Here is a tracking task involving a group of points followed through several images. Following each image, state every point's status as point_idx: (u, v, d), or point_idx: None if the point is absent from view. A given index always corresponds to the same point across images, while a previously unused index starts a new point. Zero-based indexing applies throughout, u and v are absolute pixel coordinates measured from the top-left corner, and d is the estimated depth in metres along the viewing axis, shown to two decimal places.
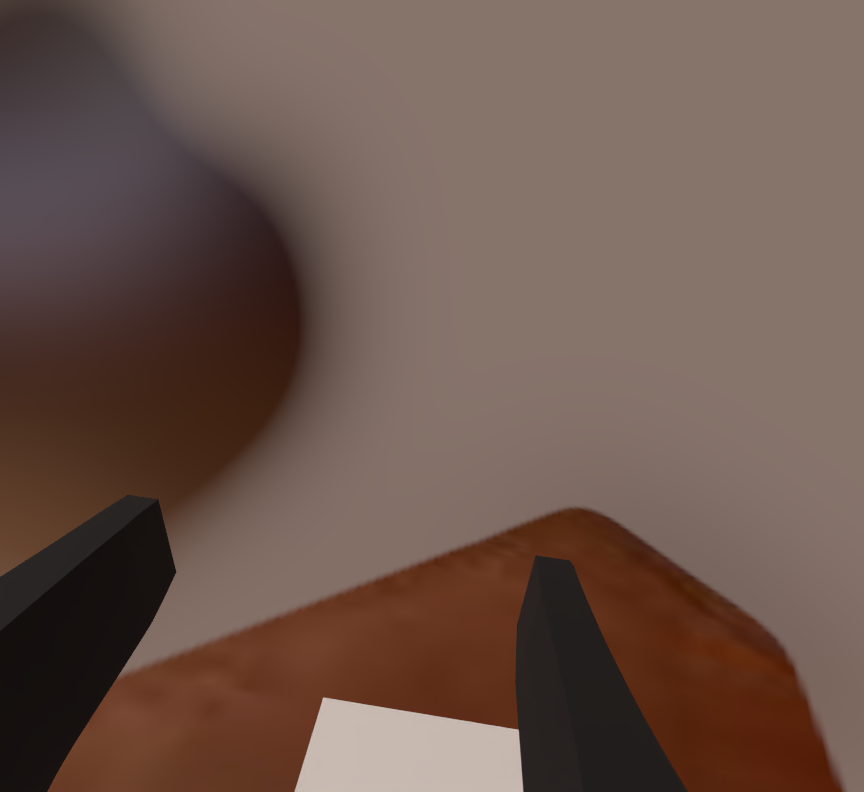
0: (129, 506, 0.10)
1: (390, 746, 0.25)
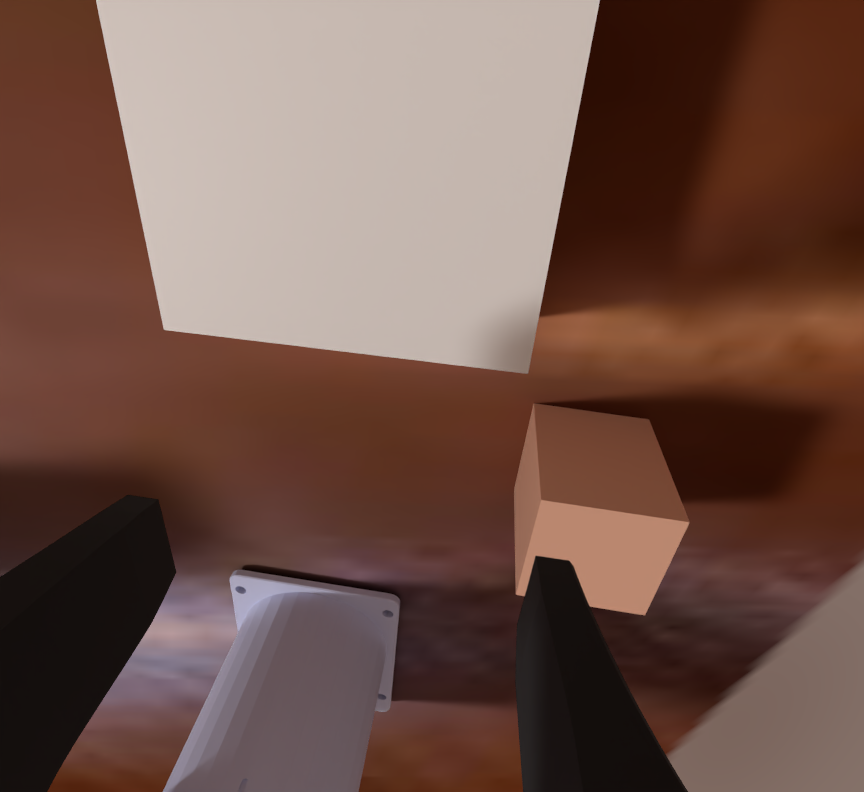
0: (130, 507, 0.10)
1: None
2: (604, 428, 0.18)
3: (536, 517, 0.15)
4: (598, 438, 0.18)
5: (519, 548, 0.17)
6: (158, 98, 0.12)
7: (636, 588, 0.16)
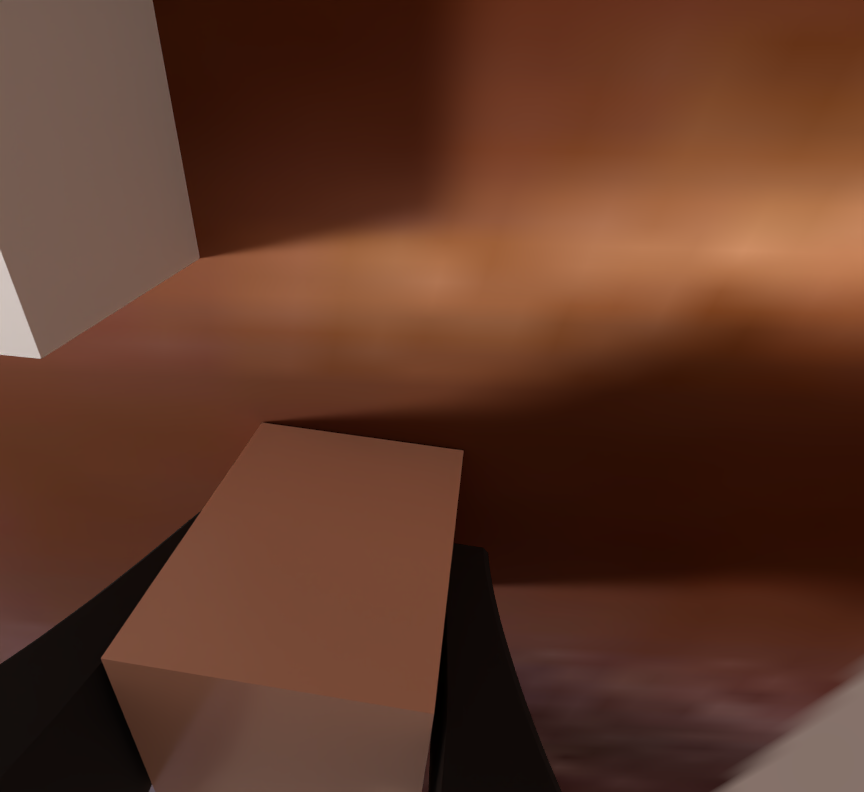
0: None
1: None
2: (366, 471, 0.10)
3: (117, 687, 0.07)
4: (341, 493, 0.09)
5: None
6: None
7: None
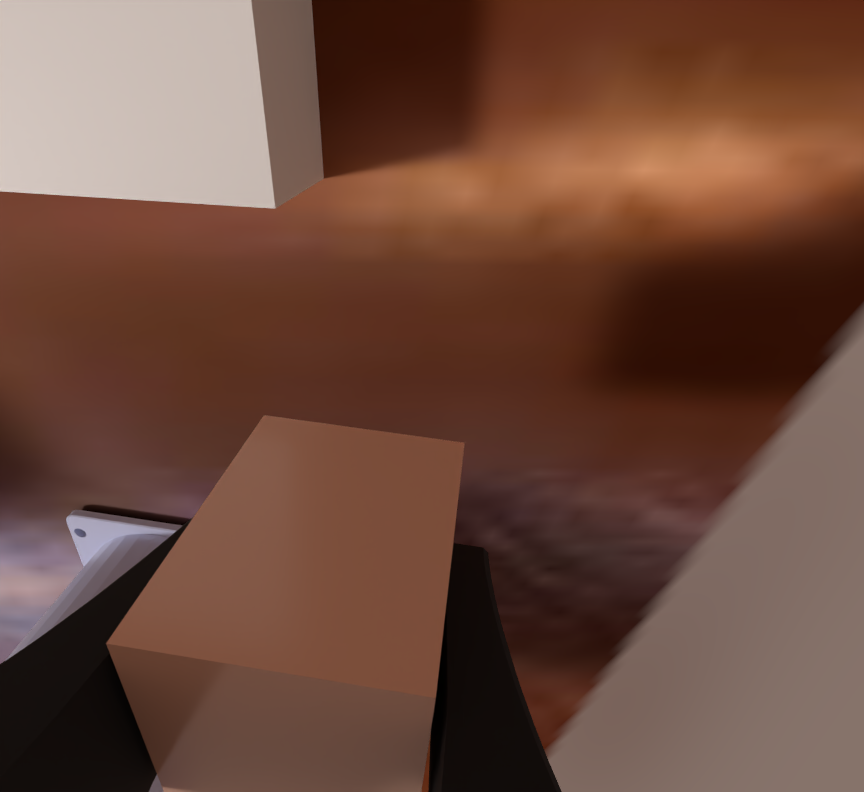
0: None
1: None
2: (368, 462, 0.10)
3: (122, 673, 0.07)
4: (343, 483, 0.09)
5: None
6: None
7: None
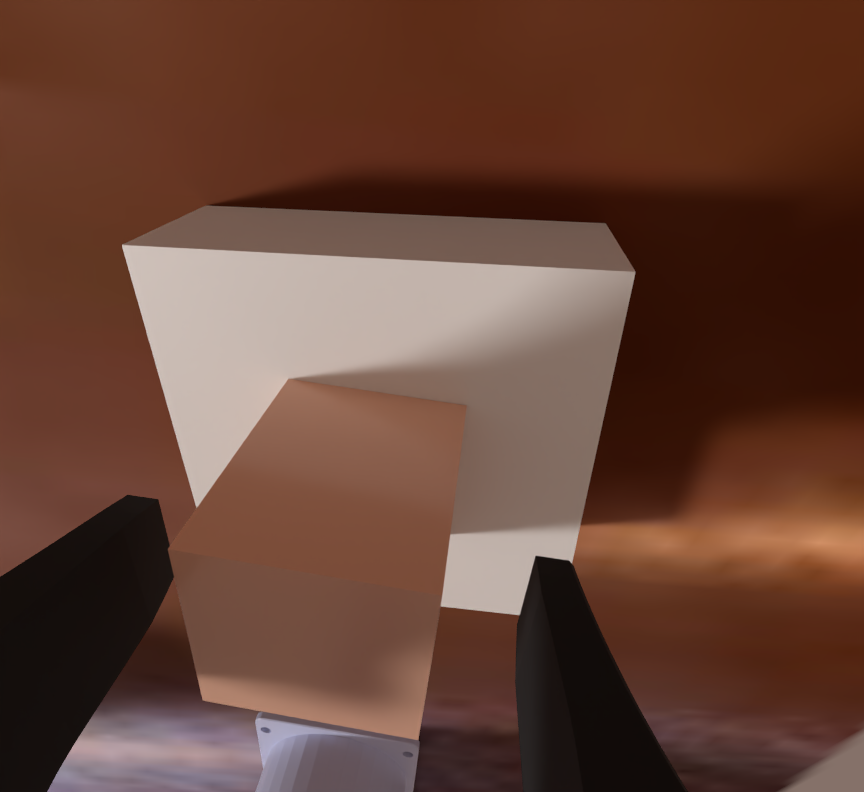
0: (130, 506, 0.10)
1: (310, 337, 0.11)
2: (381, 419, 0.11)
3: (177, 579, 0.08)
4: (360, 435, 0.11)
5: None
6: (211, 426, 0.13)
7: (390, 699, 0.09)
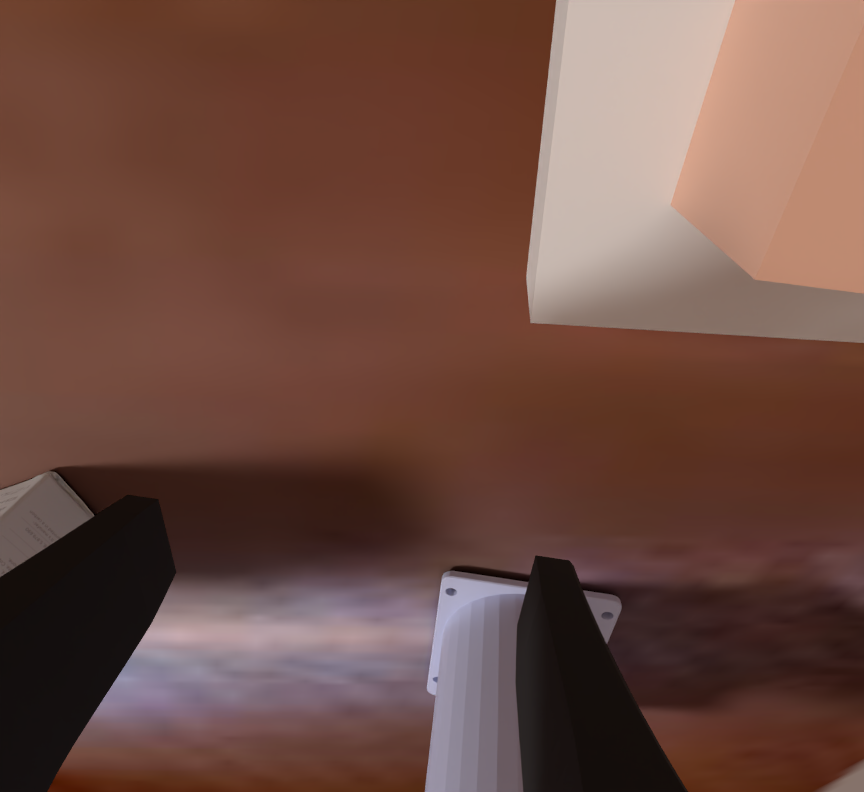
0: (129, 507, 0.10)
1: None
2: None
3: None
4: None
5: (746, 207, 0.09)
6: (609, 69, 0.11)
7: None
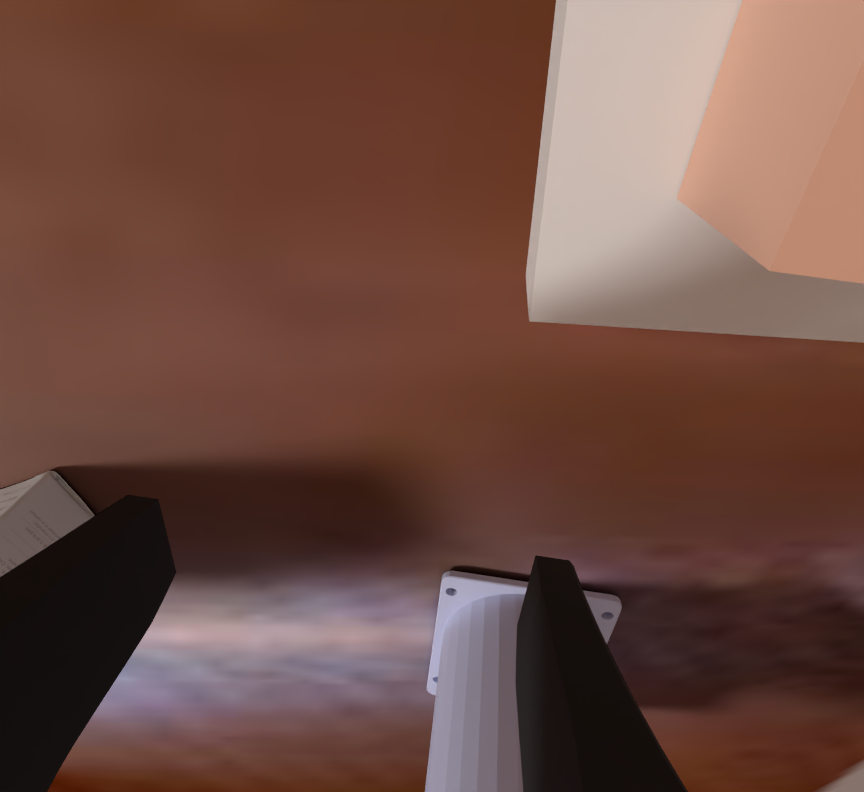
0: (130, 506, 0.10)
1: None
2: None
3: None
4: None
5: (759, 197, 0.09)
6: (608, 68, 0.11)
7: None
